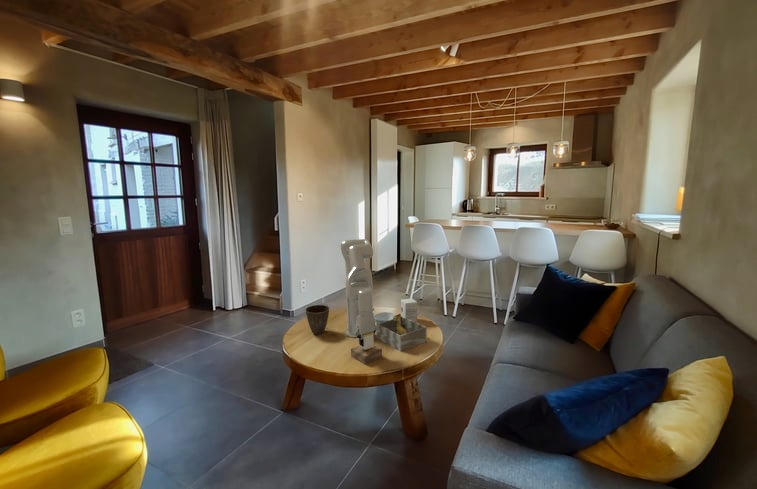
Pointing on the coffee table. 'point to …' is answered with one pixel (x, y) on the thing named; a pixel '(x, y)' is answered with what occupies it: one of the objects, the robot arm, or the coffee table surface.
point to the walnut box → (366, 354)
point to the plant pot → (317, 318)
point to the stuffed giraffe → (399, 325)
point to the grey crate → (401, 342)
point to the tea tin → (368, 340)
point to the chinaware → (383, 317)
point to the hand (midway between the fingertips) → (366, 343)
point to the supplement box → (409, 309)
